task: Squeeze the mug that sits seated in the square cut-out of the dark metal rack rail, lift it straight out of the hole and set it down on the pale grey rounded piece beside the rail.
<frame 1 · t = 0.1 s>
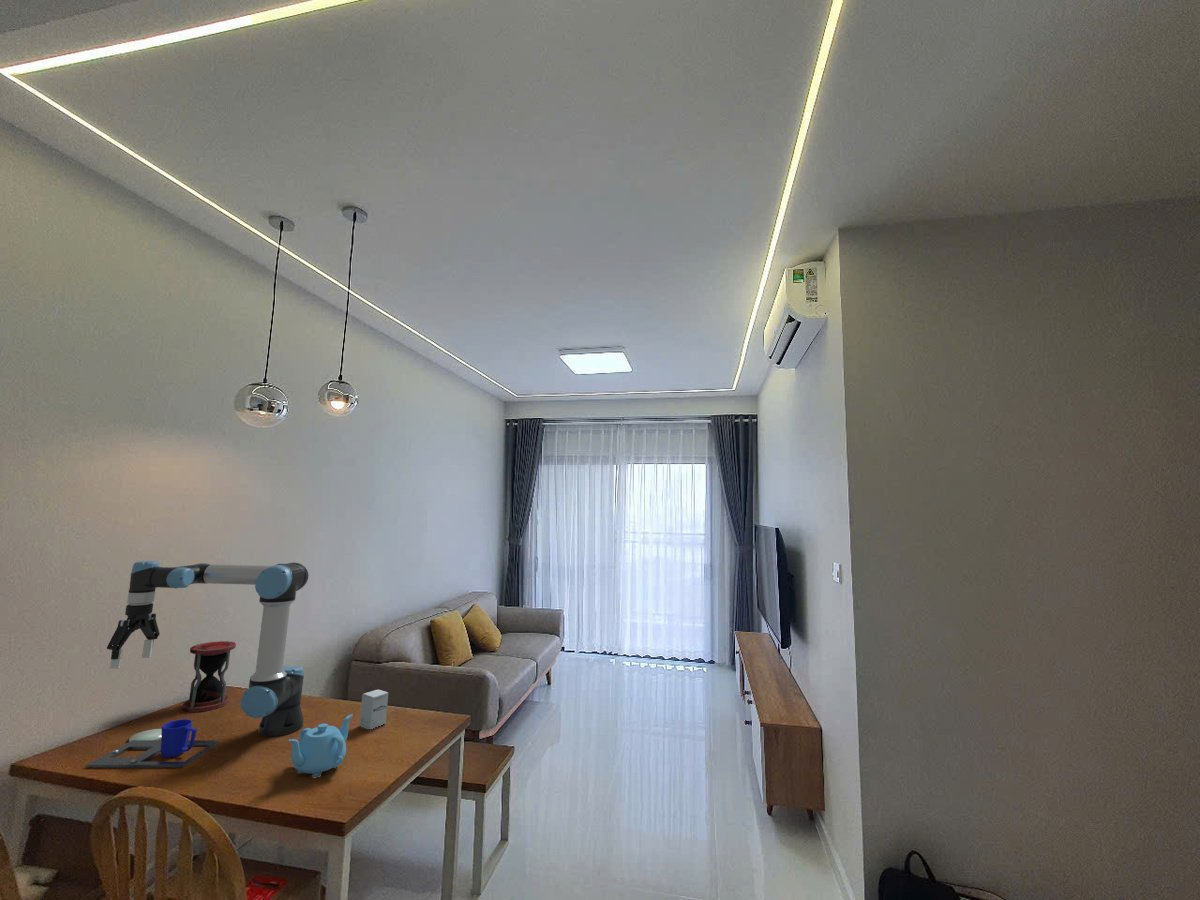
hand: (131, 662, 185), 28 cm above the table, fingers open, 13 cm apart
rack rail: (156, 754, 174), on the table
mug: (177, 755, 174), resting in rack rail
pale grey rounded piece: (149, 737, 187), on the table
teapot: (319, 769, 169), on the table
supplement box: (372, 726, 203), on the table
hourglass: (205, 705, 218), on the table
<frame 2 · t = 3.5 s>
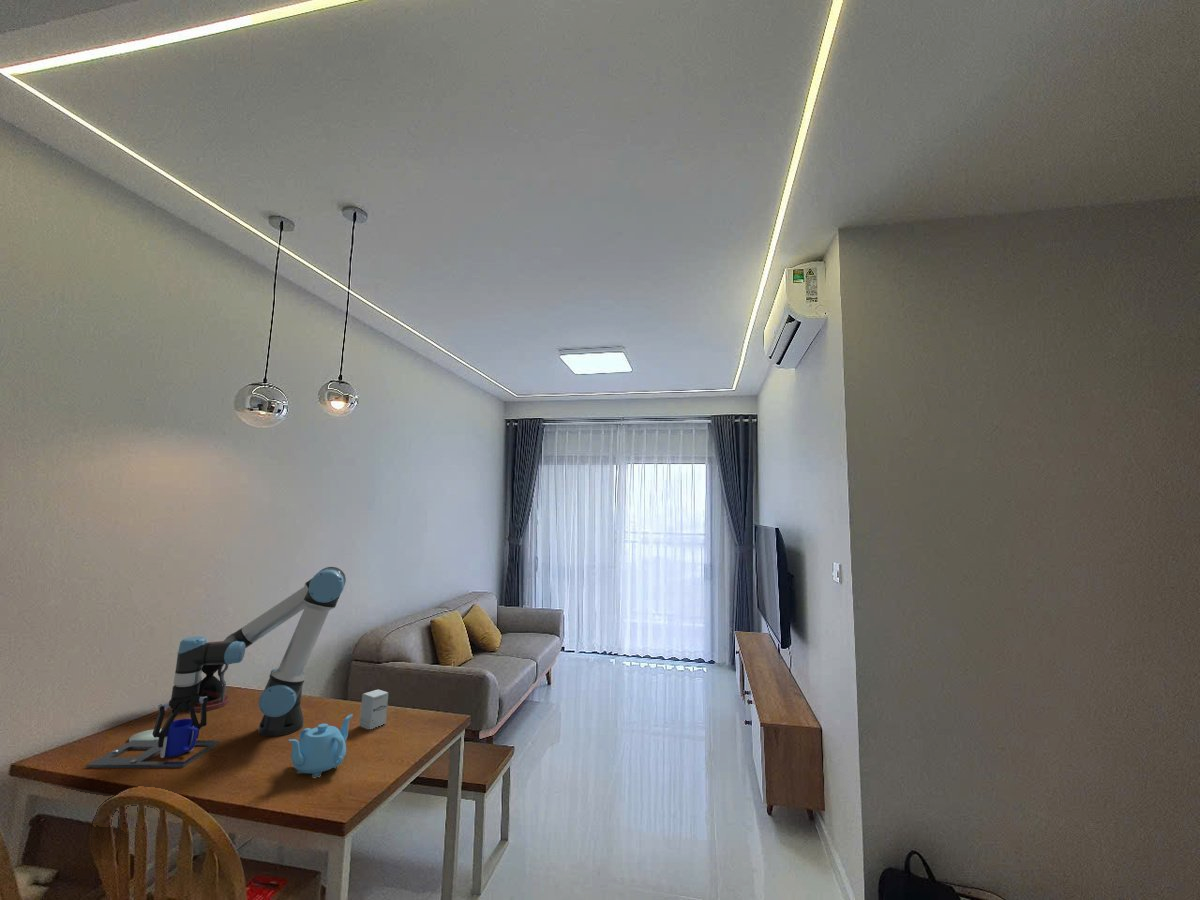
hand: (176, 752, 174), 1 cm above the table, fingers closed on mug, 7 cm apart
mug: (179, 755, 175), resting in rack rail, touching gripper
everything else where it was.
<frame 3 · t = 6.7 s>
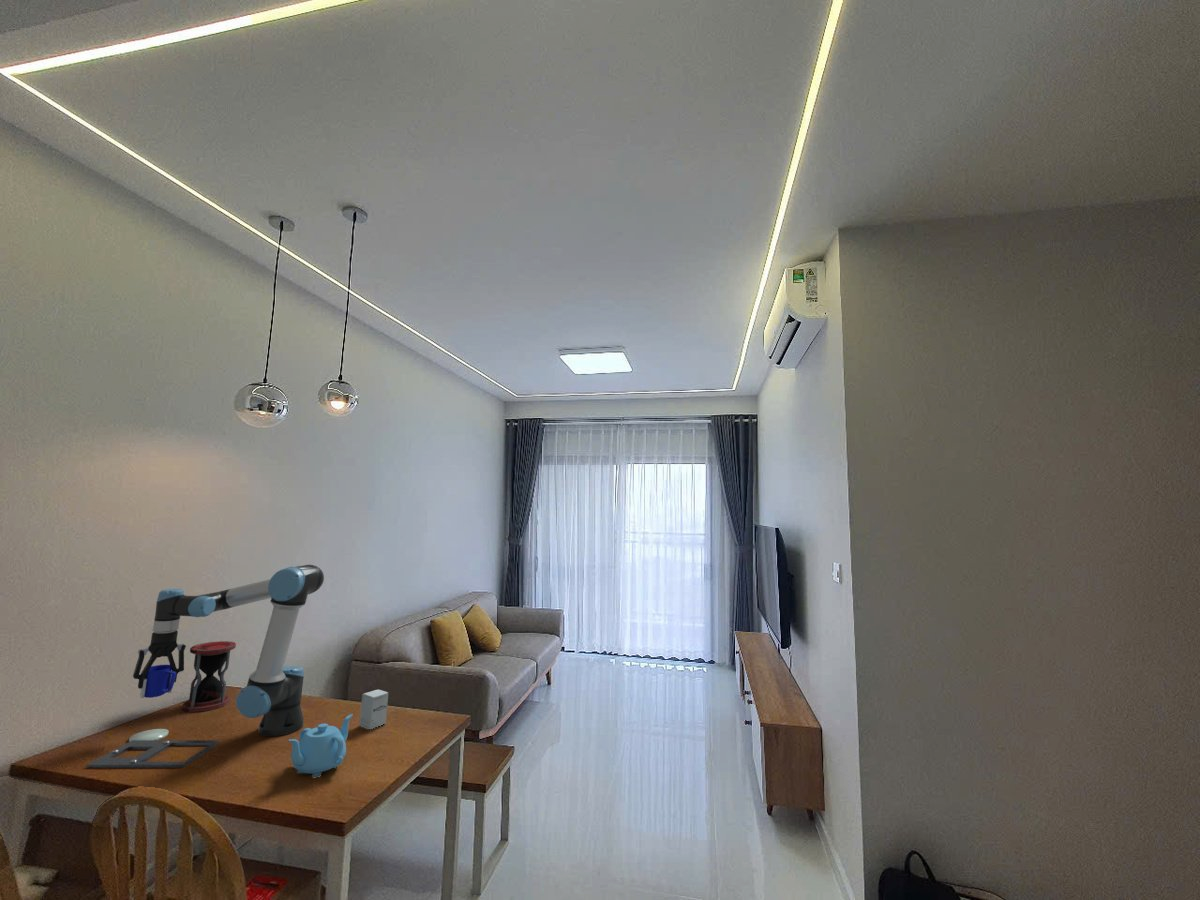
hand: (155, 694, 188), 15 cm above the table, fingers closed on mug, 7 cm apart
mug: (158, 696, 189), point 14 cm above the table, touching gripper
everything else where it was.
when the fingers open (2 cm above the table, at t = 9.6 s): mug stays where it is, resting on pale grey rounded piece.
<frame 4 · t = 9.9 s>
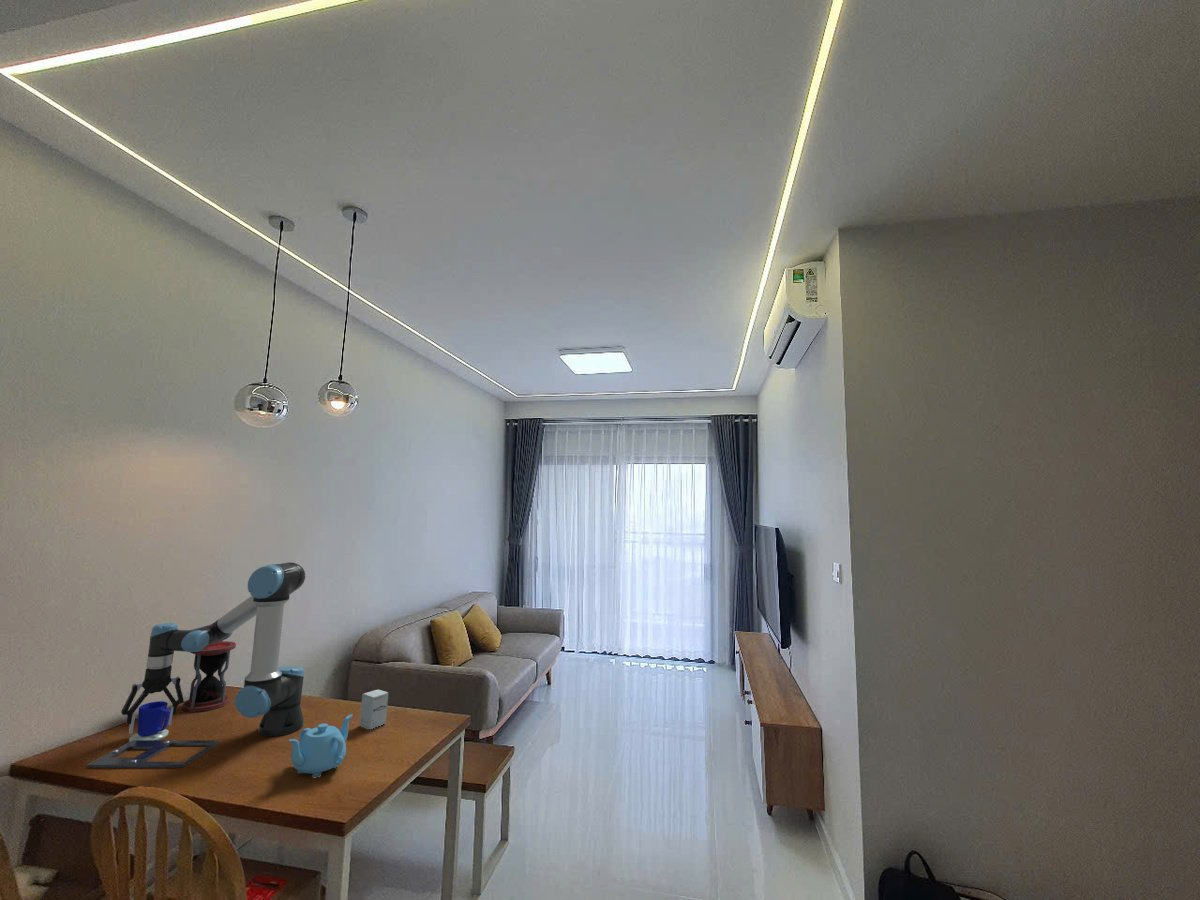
hand: (150, 728, 187), 3 cm above the table, fingers open, 10 cm apart
mug: (153, 734, 188), point 1 cm above the table, touching pale grey rounded piece
everything else where it was.
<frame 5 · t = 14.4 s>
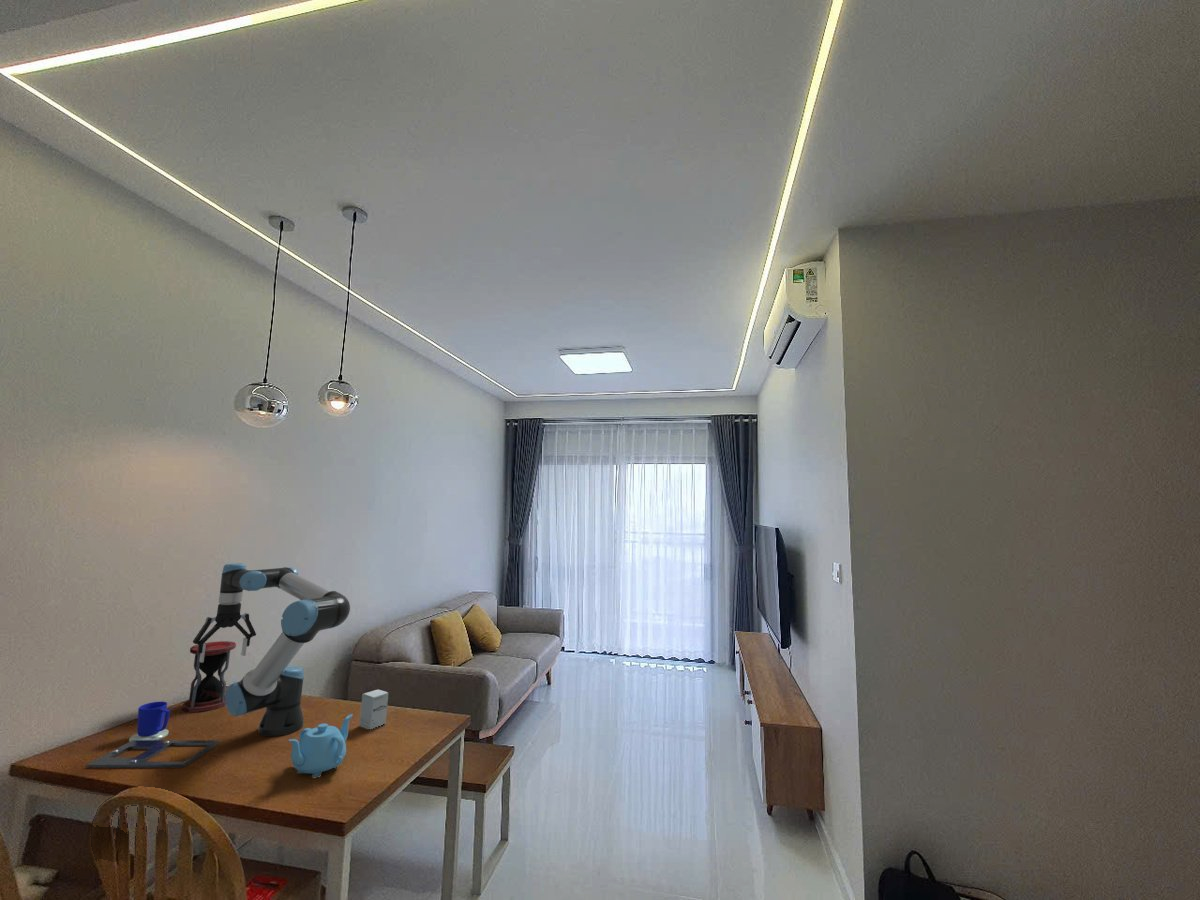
hand: (222, 658, 198), 27 cm above the table, fingers open, 13 cm apart
nothing on the table moved.
at the end: mug 1.1 cm from the pale grey rounded piece (horizontally); mug tilted 0°; the gripper is holding nothing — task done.
